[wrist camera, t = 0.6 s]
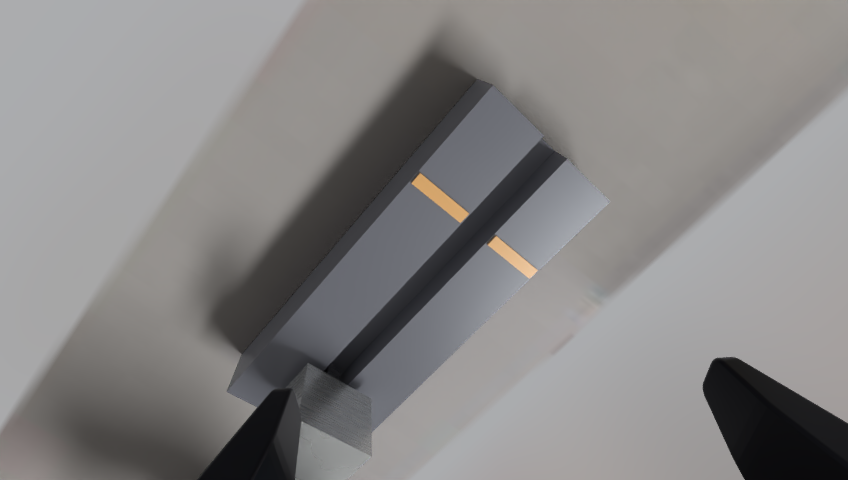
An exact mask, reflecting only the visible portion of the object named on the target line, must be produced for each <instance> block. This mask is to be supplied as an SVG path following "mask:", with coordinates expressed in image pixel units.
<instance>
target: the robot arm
mask: <svg viewBox="0 0 848 480" xmlns="http://www.w3.org/2000/svg"><path fill="white" fill-rule="evenodd" d="M703 392H704V396H705V398H706V400H707V402H708V404H709V407H710V409H711V411H712V413H713V415H714V418H715V420H716V422H717V424H718V426H719V429H720V431H721V433H722V435H723V437H724V439H725V442H726V444H727V446H728V448H729V450H730V452H731V455H732V457H733V459H734V461H735V463H736V465H737V466H738V468H739V470H740V472H741V474H742V476H743V477H744V479H745V480H848V423H846V422H845V421H843V420H841V419H840V418H838V417H836V416H834V415H833V414H831V413H829V412H828V411H826V410H824V409H823V408H821V407H819V406H818V405H816V404H814V403H812V402H811V401H809V400H807V399H806V398H804V397H802V396H801V395H799V394H797V393H796V392H794V391H792V390H790V389H789V388H787V387H785V386H784V385H782V384H780V383H779V382H777V381H775V380H774V379H772V378H770V377H768V376H767V375H765V374H763V373H762V372H760V371H758V370H757V369H755V368H753V367H752V366H750V365H748V364H747V363H745V362H743V361H741V360H739V359H738V358H734V357H726V358H725V357H724V358H716V359H714V360H713V361H712V363H711V365H710V368H709V370H708V372H707V375H706V377H705V380H704V382H703ZM300 429H301V412H300V409H299V405H298V402H297V398H296V395H295V392H294V390H293V389H292V388H278V389H274V390H272V391H271V392H270V393H269V394H268V395H267V397H266V398H265V399H264V400H263V401H262V403H261V404H260V405H259V406H258V407H257V409H256V410H255V411H254V412H253V413H252V415H251V416H250V417H249V418H248V419H247V421H246V422H245V423H244V424H243V425H242V427H241V428H240V429H239V430H238V431H237V432H236V434H235V435H234V436H233V437H232V438H231V440H230V441H229V442H228V443H227V444H226V446H225V447H224V448H223V449H222V450H221V452H220V453H219V454H218V455H217V456H216V458H215V459H214V460H213V461H212V462H211V464H210V465H209V466H208V467H207V468H206V470H205V471H204V472H203V473H202V474H201V476H200V477H199V478H198V479H197V480H295V474H296V465H297V456H298V447H299V438H300Z"/></svg>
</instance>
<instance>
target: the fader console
mask: <svg viewBox="0 0 848 480" xmlns="http://www.w3.org/2000/svg"><path fill="white" fill-rule="evenodd" d="M543 136H544V135H543V134H542V133H541V132H540V131H539V130H538V129H537V128H536V127H535V126H534V125H533V124H532V123H531V122H530V121H529V120H528V119H527V118H526V117H525V116H524V115H523V114H522V113H521V112H520V111H519V110H518V109H517V108H516V107H515V106H514V105H513V104H512V103H511V102H510V101H509V100H508V99H507V98H506V97H505V96H504V95H503V94H502V93H501V92H500V91H499V90H498V89H497V88H495V87H494V86H493V85H491V84H489V83H486V82H484V81H481V80H479V79H477V80H476V81H475V82H474V83H473V85H472V86H471V87H470V88H469V89H468V90H467V92H466V93H465V94H464V95H463V96H462V97H461V99H460V100H459V101H458V102H457V103H456V105H455V106H454V107H453V108H452V109H451V110H450V112H449V113H448V114H447V115H446V116H445V117H444V119H443V120H442V121H441V122H440V123H439V124H438V126H437V127H436V128H435V129H434V130H433V131H432V133H431V134H430V135H429V136H428V137H427V138H426V140H425V141H424V142H423V143H422V144H421V145H420V147H419V148H418V149H417V150H416V151H415V152H414V154H413V155H412V156H411V157H410V158H409V159H408V161H407V162H406V163H405V164H404V165H403V167H402V168H401V169H400V170H399V171H398V172H397V174H396V175H395V176H394V177H393V178H392V179H391V181H390V182H389V183H388V184H387V185H386V186H385V188H384V189H383V190H382V191H381V192H380V193H379V195H378V196H377V197H376V198H375V199H374V200H373V202H372V203H371V204H370V205H369V206H368V207H367V209H366V210H365V211H364V212H363V213H362V214H361V216H360V217H359V218H358V219H357V220H356V221H355V223H354V224H353V225H352V226H351V227H350V229H349V230H348V231H347V232H346V233H345V234H344V236H343V237H342V238H341V239H340V240H339V241H338V243H337V244H336V245H335V246H334V247H333V248H332V250H331V251H330V252H329V253H328V254H327V255H326V257H325V258H324V259H323V260H322V261H321V262H320V264H319V265H318V266H317V267H316V268H315V269H314V271H313V272H312V273H311V274H310V275H309V276H308V278H307V279H306V280H305V281H304V282H303V283H302V285H301V286H300V287H299V288H298V289H297V291H296V292H295V293H294V294H293V295H292V296H291V298H290V299H289V300H288V301H287V302H286V303H285V305H284V306H283V307H282V308H281V309H280V310H279V312H278V313H277V314H276V315H275V316H274V317H273V319H272V320H271V321H270V322H269V323H268V324H267V326H266V327H265V328H264V329H263V330H262V331H261V333H260V334H259V335H258V336H257V337H256V338H255V340H254V341H253V342H252V343H251V344H250V345H249V347H248V348H247V349H246V350H245V351H244V353H243V354H242V355H241V358H240V360H239V362H238V365H237V367H236V370H235V372H234V375H233V377H232V380H231V382H230V385H229V387H228V389H227V392H228V393H230V394H232V395H234V396H236V397H238V398H240V399H242V400H244V401H246V402H248V403H250V404H252V405H254V406H256V407H258V406H259V405H260V404H261V403H262V401H263V400H264V399H265V398H266V397H267V395H268V394H269V393H270V392H271V391H272V390H274V389H278V388H286V387H287V385H288V384H289V383H290V382H291V381H292V380H293V379H294V378H295V377H296V376H297V375H298V373H299V372H300V371H301V370H302V369H303V368H304V367H305V366H306V365H307V364H308V363H309V364H311V365H313V366H314V367H316V368H318V369H320V370H321V371H324V370H325V369H326V368H327V367H328V366H329V365H330V363H332V364H333V365H335V366H337V367H339V368H340V369H341V374H340V381H341V382H343V383H345V384H346V385H348V386H350V387H352V388H353V389H355V390H357V391H359V392H361V393H362V394H364V395H366V396H368V397H369V398H371V419H372V432H373V431H374V430H375V429H376V428H377V427H378V426H379V425H380V424H381V423H382V422H383V421H384V420H385V419H386V418H387V417H388V416H389V415H390V414H391V413H392V412H393V411H394V410H395V409H396V408H397V407H398V406H399V405H401V404H402V403H403V402H404V401H405V400H406V399H407V398H408V397H409V396H410V395H411V394H412V393H413V392H414V391H415V390H416V389H417V388H418V387H419V386H420V385H421V384H422V383H423V382H424V381H425V380H426V379H427V378H428V377H429V376H430V375H432V374H433V373H434V372H435V371H436V370H437V369H438V368H439V367H440V366H441V365H442V364H443V363H444V362H445V361H446V360H447V359H448V358H449V357H450V356H451V355H452V354H453V353H454V352H455V351H456V350H457V349H458V348H459V347H460V346H461V345H463V344H464V343H465V342H466V341H467V340H468V339H469V338H470V337H471V336H472V335H473V334H474V333H475V332H476V331H477V330H478V329H479V328H480V327H481V326H482V325H483V324H484V323H485V322H486V321H487V320H488V319H489V318H490V317H491V316H492V315H494V314H495V313H496V312H497V311H498V310H499V309H500V308H501V307H502V306H503V305H504V304H505V303H506V302H507V301H508V300H509V299H510V298H511V297H512V296H513V295H514V294H515V293H516V292H517V291H518V290H519V289H520V288H521V287H522V286H523V285H524V284H526V283H527V282H528V281H529V280H530V279H531V278H532V277H533V276H534V275H535V274H536V273H537V272H538V271H539V270H540V269H541V268H542V267H543V266H544V265H545V264H546V263H547V262H548V261H549V260H550V259H551V258H552V257H553V256H554V255H555V254H557V253H558V252H559V251H560V250H561V249H562V248H563V247H564V246H565V245H566V244H567V243H568V242H569V241H570V240H571V239H572V238H573V237H574V236H575V235H576V234H577V233H578V232H579V231H580V230H581V229H582V228H583V227H584V226H585V225H586V224H588V223H589V222H590V221H591V220H592V219H593V218H594V217H595V216H596V215H597V214H598V213H599V212H600V211H601V210H602V209H603V208H604V207H605V206H606V205H607V204H608V203H609V202H610V201H609V200H608V199H607V198H606V197H605V196H604V195H603V194H602V193H601V192H600V191H599V190H598V189H597V188H596V187H595V186H594V185H593V184H592V183H591V182H590V181H589V180H588V179H587V178H586V177H585V176H584V175H583V174H582V173H581V172H580V171H579V170H578V169H577V168H576V167H575V166H574V165H573V164H572V163H571V162H570V161H569V160H568V159H567V158H565V157H563V156H562V155H560V154H559V153H557V152H555V151H554V150H553V149H552V148H551V147H550V146H549V145H548V144H547V143H546V142H545V141H544V140H543V139H542V137H543Z"/></svg>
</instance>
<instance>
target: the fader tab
mask: <svg viewBox="0 0 848 480" xmlns="http://www.w3.org/2000/svg"><path fill="white" fill-rule="evenodd" d="M340 374H341V369H340V368H339V367H337V366H335V365H333V364H332V363H330V365H329V366H328V367H327V368H326V369H325V370H324V371H321V370H320V369H318V368H316V367H314V366H313V365H311V364H309V363H308V364H307V365H306V366H305V367H304V368H303V369H302V370H301V371H300V372H299V373H298V375H297V376H296V377H295V378H294V379H293V380H292V381H291V382H290V383H289V384H288V385H287V387H286V388H292V389H293V390H294V392H295V395H296V398H297V402H298V405H299V409H300V412H301V429H300V438H299V447H298V456H297V465H296V474H295V478H296V479H299V480H347V479H348V478H350V477H351V476H352V475H353V474H354V473H355V472H356V471H357V470H358V469H359V468H360V467H361V466H362V465H363V464H364V463H365V462H366V461H368V460H369V459H370V458H371V457H372V419H371V398H369V397H368V396H366V395H364V394H362V393H361V392H359V391H357V390H355V389H353V388H352V387H350V386H348V385H346V384H345V383H343V382H341V381H340Z"/></svg>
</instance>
